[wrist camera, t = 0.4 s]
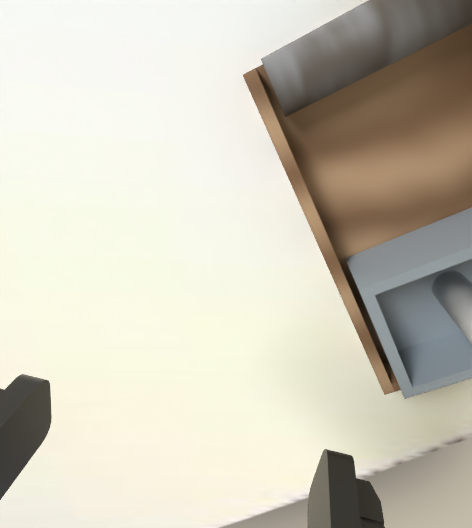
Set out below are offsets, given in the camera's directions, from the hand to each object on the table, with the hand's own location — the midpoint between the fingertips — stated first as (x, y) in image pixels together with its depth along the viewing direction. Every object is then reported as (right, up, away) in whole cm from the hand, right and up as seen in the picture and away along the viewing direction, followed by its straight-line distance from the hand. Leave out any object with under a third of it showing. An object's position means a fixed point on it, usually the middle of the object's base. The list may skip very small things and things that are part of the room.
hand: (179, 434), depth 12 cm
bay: (+15, +10, +19) cm, 26 cm away
